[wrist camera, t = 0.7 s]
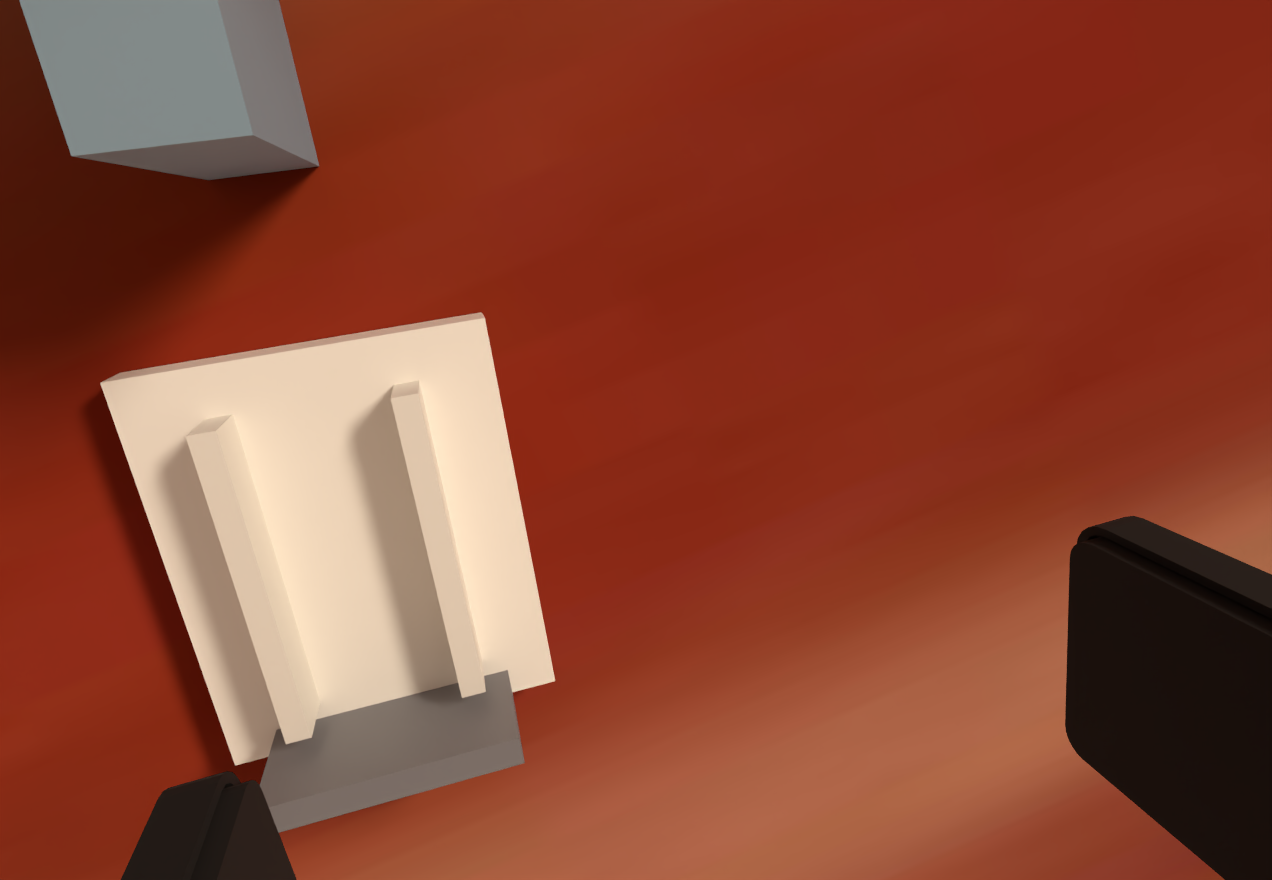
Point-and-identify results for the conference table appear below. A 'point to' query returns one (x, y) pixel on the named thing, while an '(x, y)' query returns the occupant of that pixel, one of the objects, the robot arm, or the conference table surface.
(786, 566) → the conference table surface
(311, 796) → the cream railed panel
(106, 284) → the conference table surface
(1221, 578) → the robot arm
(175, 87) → the gray rectangular block
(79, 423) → the conference table surface
